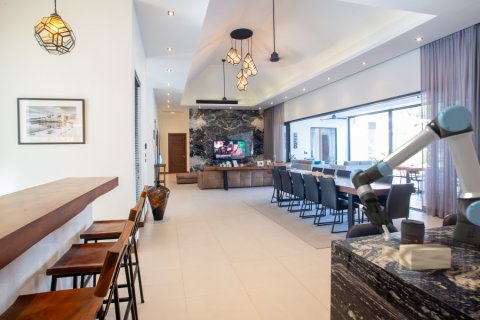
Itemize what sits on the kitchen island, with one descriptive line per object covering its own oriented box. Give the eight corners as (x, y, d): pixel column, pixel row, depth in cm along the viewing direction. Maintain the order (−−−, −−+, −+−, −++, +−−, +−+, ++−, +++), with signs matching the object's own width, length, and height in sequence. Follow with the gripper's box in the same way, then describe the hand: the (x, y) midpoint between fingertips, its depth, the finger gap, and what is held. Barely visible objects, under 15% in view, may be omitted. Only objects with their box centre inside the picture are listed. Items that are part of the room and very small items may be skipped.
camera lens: (427, 263, 107) (428, 224, 106) (404, 261, 108) (405, 222, 108) (419, 255, 114) (420, 219, 114) (397, 254, 116) (398, 218, 116)
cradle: (380, 253, 117) (381, 236, 117) (415, 251, 119) (415, 235, 119) (411, 269, 100) (411, 250, 100) (450, 267, 103) (451, 248, 102)
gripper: (375, 200, 144) (397, 243, 128) (352, 200, 142) (371, 244, 126) (382, 191, 139) (406, 234, 123) (358, 191, 137) (379, 235, 121)
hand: (388, 239), depth 124 cm, fingers closed
